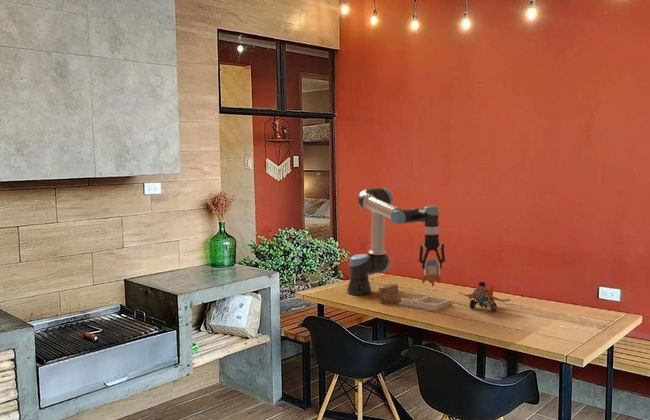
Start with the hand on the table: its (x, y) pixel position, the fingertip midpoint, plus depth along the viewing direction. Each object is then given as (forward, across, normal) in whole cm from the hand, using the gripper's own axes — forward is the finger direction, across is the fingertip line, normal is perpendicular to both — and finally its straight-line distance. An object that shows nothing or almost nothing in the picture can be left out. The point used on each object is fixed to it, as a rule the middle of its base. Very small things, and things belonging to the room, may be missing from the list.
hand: (432, 274), depth 326 cm
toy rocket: (+6, 0, 0) cm, 6 cm away
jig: (+18, -3, +3) cm, 19 cm away
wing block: (+18, -22, +15) cm, 33 cm away
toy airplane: (+19, +27, -9) cm, 34 cm away
